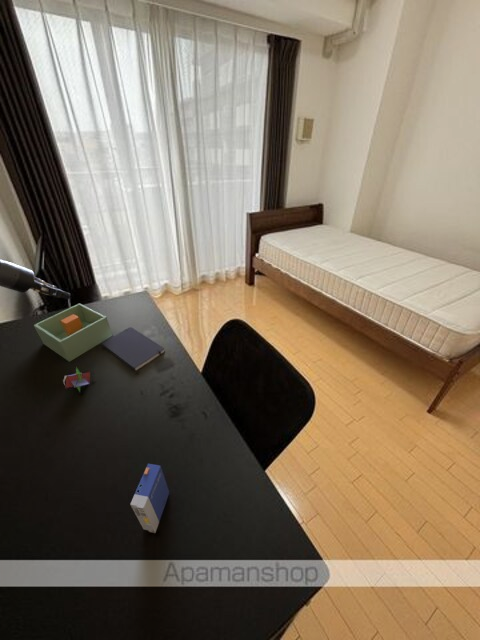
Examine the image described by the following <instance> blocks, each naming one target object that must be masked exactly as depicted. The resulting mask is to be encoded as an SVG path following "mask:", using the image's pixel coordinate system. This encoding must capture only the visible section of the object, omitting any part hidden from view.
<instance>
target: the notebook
mask: <svg viewBox="0 0 480 640" xmlns="http://www.w3.org/2000/svg"><path fill="white" fill-rule="evenodd" d="M100 345H101V347H103V348H104V349H105V350H107V351H108V352H109V353H111V354H112V355H113V356H114V357H116V358H117V359H119V360H120V361H121V362H122V363H124V364H125V365H126V366H128V367H129V368H130V369H132V370H133V371H134V372H138V371H139V370H140V369H142V368H143V367H145V366H146V365H148V364H149V363H151V362H152V361H154V360H155V359H157V358H159V357H160V356H162V355H163V354H164V353H165V352H166V350H165V347H164V346H162V345H161V344H159V343H158V342H156V341H155V340H153V339H151V338H150V337H148V336H146V335H145V334H143V333H142V332H140V331H138V330H137V329H135V328H134V327H133V326H132V327H131V326H129V327H127V328H126V329H124V330H122V331H120V332H118V333H116V334H115V335H113V336H111V337H109V338H108V339H106V340H104V341H103V342H101V343H100Z"/></svg>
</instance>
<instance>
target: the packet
mask: <svg viewBox="0 0 480 640" xmlns="http://www.w3.org/2000/svg"><path fill="white" fill-rule="evenodd" d="M61 323H62V325H63V327H64V330H65V332H66V334H67V336H70V335H72V334H74V333H75V332H77V331H79V330H81V329H83V326H82V323H81V321H80V319H79V317H78V316H76V315H74V314H73V315H71V316H69V317H67V318H65V319H63V320H61Z"/></svg>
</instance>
